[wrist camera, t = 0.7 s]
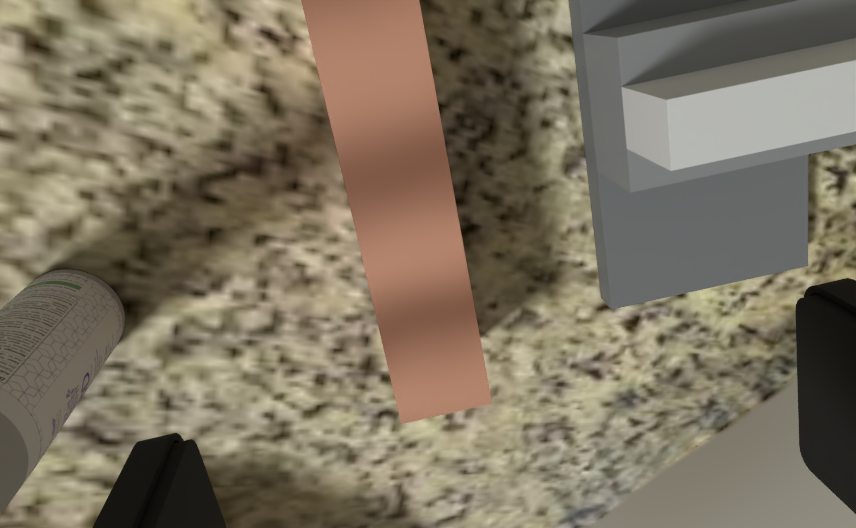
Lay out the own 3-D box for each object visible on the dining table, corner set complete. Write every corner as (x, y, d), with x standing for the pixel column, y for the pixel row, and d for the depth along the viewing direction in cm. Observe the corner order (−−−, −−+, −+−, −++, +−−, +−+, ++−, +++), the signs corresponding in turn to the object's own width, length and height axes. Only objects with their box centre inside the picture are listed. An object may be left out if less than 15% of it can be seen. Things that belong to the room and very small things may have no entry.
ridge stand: (552, -146, 29) (646, -213, 20) (788, -192, 29) (981, -277, 20) (600, 297, 36) (685, 393, 27) (789, 255, 36) (934, 336, 28)
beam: (280, -120, 28) (265, -151, 23) (378, -139, 29) (387, -174, 23) (392, 359, 36) (401, 423, 31) (468, 342, 36) (492, 403, 31)
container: (130, 360, 34) (-17, 604, 20) (27, 360, 34) (-198, 612, 20) (121, 269, 33) (-46, 466, 19) (12, 267, 32) (-242, 470, 18)
